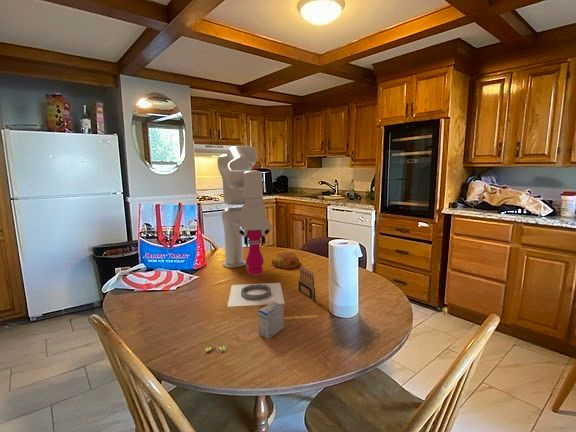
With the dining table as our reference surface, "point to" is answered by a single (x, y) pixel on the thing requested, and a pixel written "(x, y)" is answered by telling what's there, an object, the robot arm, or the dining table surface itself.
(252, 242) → the pepper mill
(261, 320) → the medicine box
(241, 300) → the seat board
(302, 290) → the ammunition clip
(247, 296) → the ring collar
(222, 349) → the bearing assembly
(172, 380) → the dining table surface
